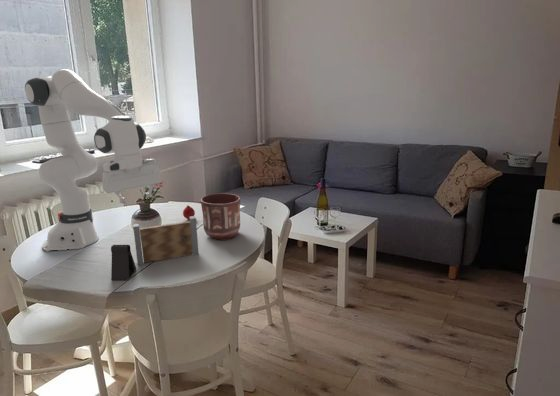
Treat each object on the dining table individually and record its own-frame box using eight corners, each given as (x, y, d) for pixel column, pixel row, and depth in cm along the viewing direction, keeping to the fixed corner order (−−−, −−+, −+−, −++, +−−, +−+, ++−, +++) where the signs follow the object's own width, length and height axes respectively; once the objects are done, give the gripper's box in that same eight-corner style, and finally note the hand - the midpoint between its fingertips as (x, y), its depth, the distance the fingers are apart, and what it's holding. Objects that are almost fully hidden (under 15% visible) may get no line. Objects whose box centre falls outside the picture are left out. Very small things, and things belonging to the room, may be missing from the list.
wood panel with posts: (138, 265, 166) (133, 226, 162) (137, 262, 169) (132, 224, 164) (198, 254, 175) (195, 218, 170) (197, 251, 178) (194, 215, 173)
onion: (196, 217, 219) (194, 203, 217) (194, 221, 213) (193, 206, 211) (184, 218, 219) (183, 203, 216) (182, 222, 213) (181, 206, 211)
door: (144, 264, 166) (140, 231, 162) (143, 261, 169) (139, 228, 165) (193, 256, 173) (191, 223, 169) (192, 252, 176) (189, 221, 172)
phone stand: (127, 280, 154) (123, 250, 151) (111, 280, 154) (106, 250, 151) (136, 269, 163) (132, 240, 159) (121, 269, 163) (117, 240, 159)
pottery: (206, 245, 184) (203, 205, 179) (200, 231, 200) (197, 194, 195) (245, 240, 189) (244, 201, 184) (236, 227, 205) (235, 191, 200)
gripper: (155, 157, 158) (161, 193, 161) (97, 166, 147) (105, 204, 150) (161, 158, 152) (167, 195, 156) (101, 167, 142) (109, 207, 145)
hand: (136, 200), depth 153 cm, fingers open, 8 cm apart
